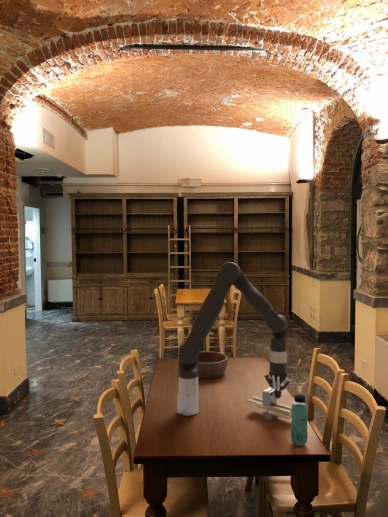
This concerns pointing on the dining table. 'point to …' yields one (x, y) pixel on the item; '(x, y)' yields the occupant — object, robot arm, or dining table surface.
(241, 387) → the dining table surface
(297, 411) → the beverage bottle
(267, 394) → the block
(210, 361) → the wooden bowl
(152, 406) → the dining table surface
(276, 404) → the beam
